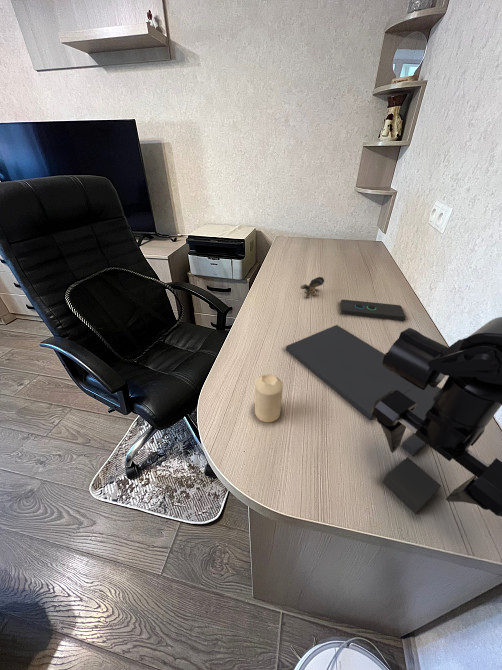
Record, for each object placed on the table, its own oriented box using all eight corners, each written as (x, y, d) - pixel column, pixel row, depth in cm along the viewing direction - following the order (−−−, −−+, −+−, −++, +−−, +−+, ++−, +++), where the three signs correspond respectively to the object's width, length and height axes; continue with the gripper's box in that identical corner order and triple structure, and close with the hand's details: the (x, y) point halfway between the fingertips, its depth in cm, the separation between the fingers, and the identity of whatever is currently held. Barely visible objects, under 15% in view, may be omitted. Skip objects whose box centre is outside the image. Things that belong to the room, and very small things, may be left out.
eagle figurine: (321, 298, 101) (328, 285, 106) (312, 282, 98) (319, 269, 103) (304, 303, 106) (311, 290, 112) (294, 288, 103) (302, 276, 109)
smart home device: (341, 298, 100) (400, 304, 96) (340, 302, 101) (399, 309, 97) (342, 309, 93) (406, 316, 89) (341, 314, 94) (404, 321, 90)
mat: (466, 410, 61) (469, 405, 60) (412, 456, 52) (415, 451, 51) (336, 328, 87) (336, 324, 86) (285, 350, 78) (286, 345, 77)
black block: (435, 493, 46) (441, 485, 45) (415, 514, 44) (420, 507, 42) (403, 464, 51) (407, 456, 49) (382, 482, 48) (386, 474, 46)
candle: (271, 427, 57) (273, 393, 51) (249, 414, 60) (249, 380, 54) (285, 410, 61) (288, 377, 55) (264, 398, 63) (265, 365, 58)
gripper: (580, 432, 33) (509, 496, 41) (425, 349, 45) (397, 412, 54) (545, 484, 28) (473, 544, 37) (383, 375, 40) (359, 439, 49)
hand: (418, 473), depth 44 cm, fingers open, 9 cm apart
